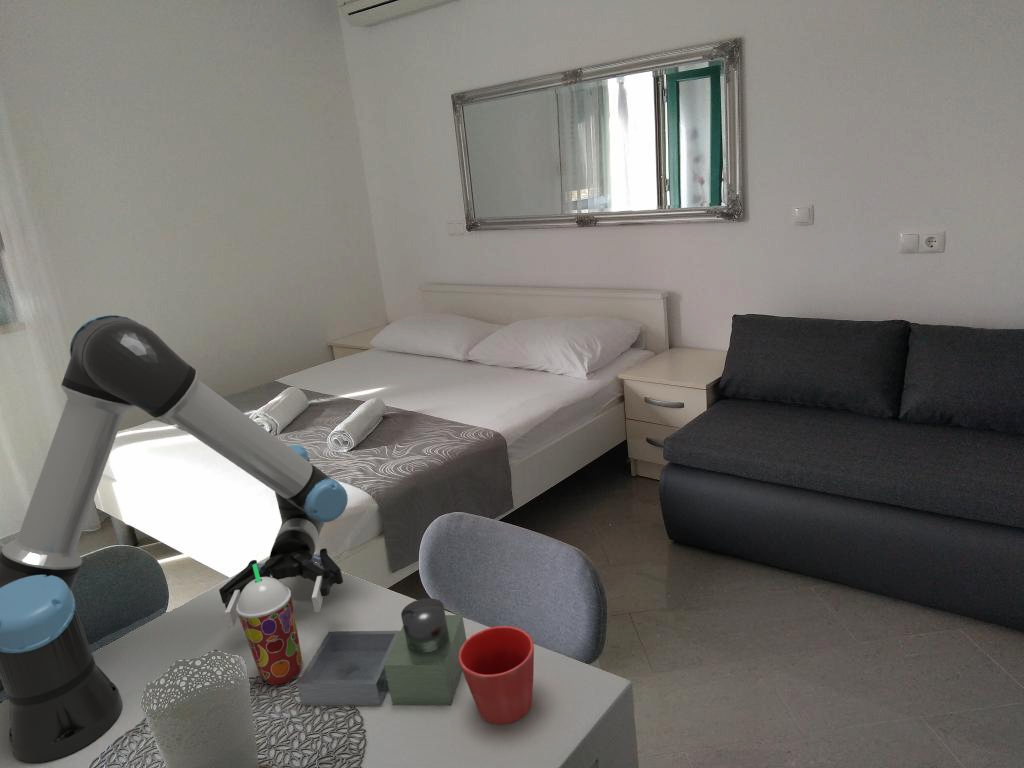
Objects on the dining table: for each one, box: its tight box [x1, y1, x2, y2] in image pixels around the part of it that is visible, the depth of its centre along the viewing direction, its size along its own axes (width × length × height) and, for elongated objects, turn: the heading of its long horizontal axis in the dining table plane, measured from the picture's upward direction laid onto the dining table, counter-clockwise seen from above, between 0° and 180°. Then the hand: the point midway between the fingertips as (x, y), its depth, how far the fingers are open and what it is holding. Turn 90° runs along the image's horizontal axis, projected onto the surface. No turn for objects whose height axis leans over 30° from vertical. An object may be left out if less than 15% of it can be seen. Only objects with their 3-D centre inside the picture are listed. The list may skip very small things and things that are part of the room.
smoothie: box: [236, 563, 303, 685], centre depth 120 cm, size 8×8×20 cm
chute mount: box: [296, 597, 467, 707], centre depth 116 cm, size 23×13×12 cm, turn 81°
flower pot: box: [459, 625, 535, 726], centre depth 107 cm, size 11×11×10 cm
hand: (272, 612), depth 120 cm, fingers open, 13 cm apart
